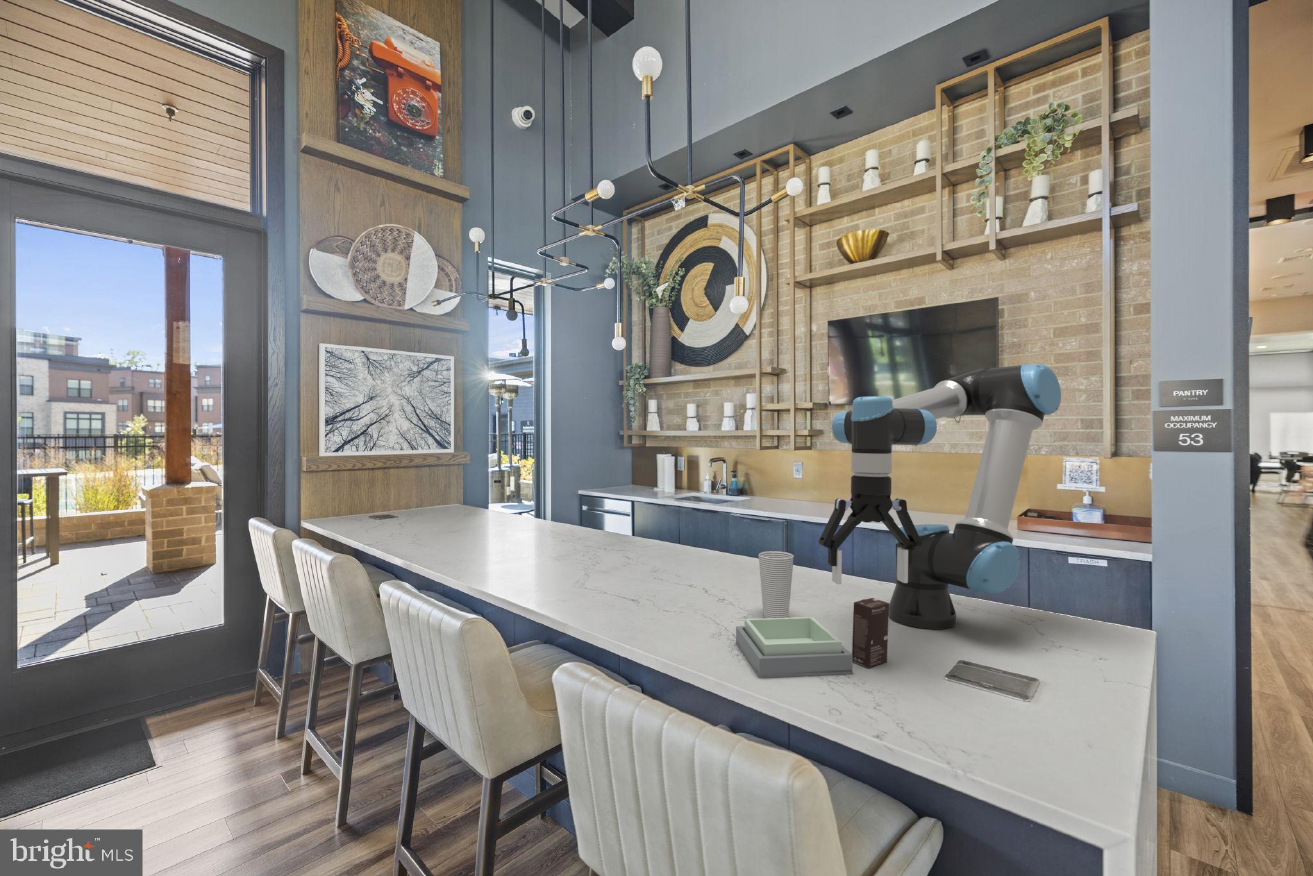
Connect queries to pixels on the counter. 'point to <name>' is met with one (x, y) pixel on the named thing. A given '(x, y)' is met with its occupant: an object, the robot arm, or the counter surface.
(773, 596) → the cup
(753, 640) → the crates
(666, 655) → the counter surface
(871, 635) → the box
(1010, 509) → the robot arm
